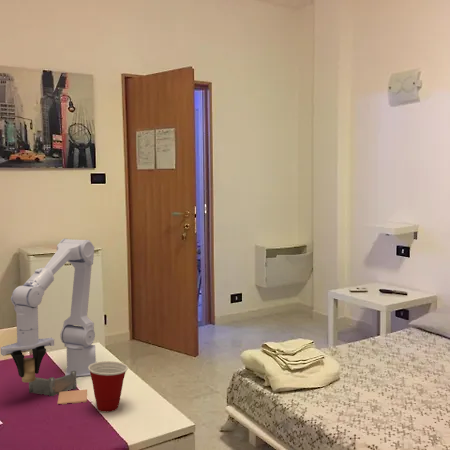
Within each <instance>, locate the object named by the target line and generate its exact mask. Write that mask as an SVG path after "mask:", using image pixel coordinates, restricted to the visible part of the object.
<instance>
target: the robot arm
mask: <svg viewBox="0 0 450 450" xmlns="http://www.w3.org/2000/svg"><path fill="white" fill-rule="evenodd" d="M94 256H95V245H94V244H93V243H92V241H91V240H90V239H73V238H72V239H71V238H70V239H69V238H62V239H61V240H60V241H59V243H57V245H56V251H55V253H54V254H53V255H52V257H51V258H50V259H49V260H48V262H47V263H46V265H45V266H44V267H40V268H36V269H35V270H34V272H33V273H32V274H31V276H30V277H29V278H28V279H27V280H26V281H25V282H24V283H23V284H22V285H18V286H17V287H16V288H15V289H13V290H12V291H13V292H11V297H10V301H11V304H12V305H13V306H14V307H13V310H14V311H15V315H16V319H15V320H16V341H17V342H14V343H11V344H8V345H5V346H1V347H0V355H1V356H3V357H4V356H7V355H9V354H10V355H11V358H12V359H13V361H14V363H15V366H16V369H17V372H18V376H19V378H22V377H24V368H23V364H24V358H25V355H24V354H23V352H24V351H28V350H31V352H32V358H35V375H37V374H38V375H39V373H40V367H41V363H42V361H43V358H44V357H45V354H46V353H47V348H45V347H49V346H52V347H53V346H55V339H54V338H53V337H46V338H45V337H44V338H39V307H38V306H39V305H40V304H41V303H42V300H43V297H44V294H45V291H46V290H47V289H48V288H49V287H50V285H52V283H54V281H55V277H54V275H55V274H56V273H57V272H59V270H61V268H62V267H63V266H64V265H65V264H66V263H69V264H70V265H72V267H73V268H74V271H73V272H74V273H73V284H72V296H71V307H70V316H69V317H68V318H67V319H65V320H64V321H63V326H62V329H61V331H60V335H59V336H60V340H61V342H62V343H63V345H64V348H65V347H66V367H65V368H66V369H65V374H64V376H66V375H70V374H71V371H76V378H77V377H87V376H88V377H89V376H91V374H90V371H89V368H88V367H89V366H90V365H91V364H93V363H96V362H97V361H96V360H97V359H96V344H93V343H94V341H95V337H96V333H95V328H94V327H95V323H94V321H92V320H91V319H90V318H89V317H88V310H89V309H88V308H89V297H90V289H91V278H92V277H91V276H92V266H93V264H94V258H95V257H94Z"/></svg>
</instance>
